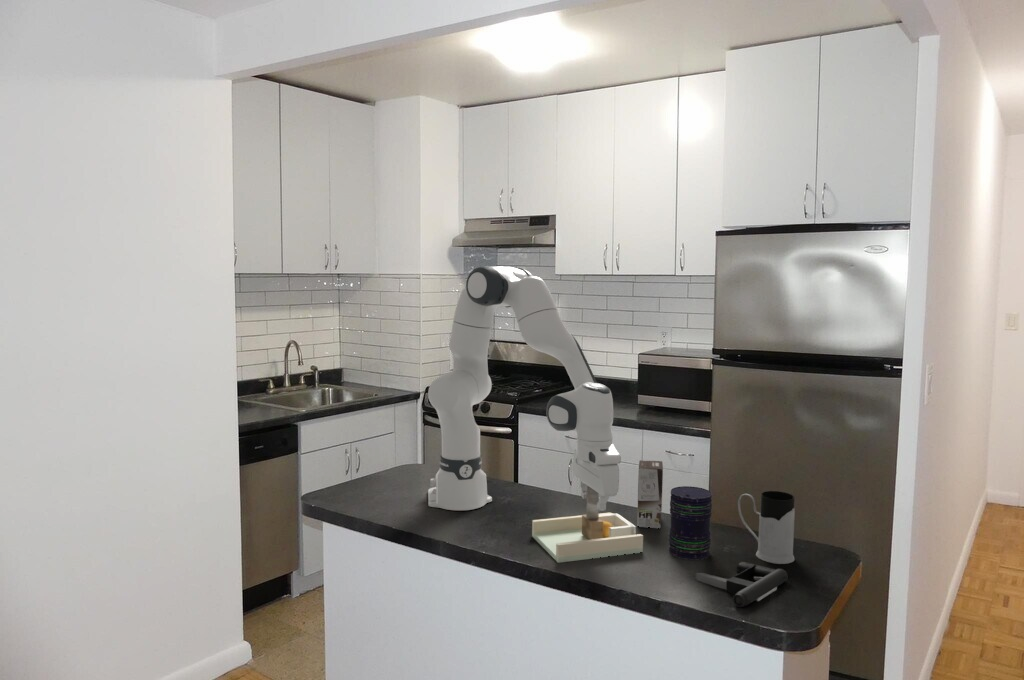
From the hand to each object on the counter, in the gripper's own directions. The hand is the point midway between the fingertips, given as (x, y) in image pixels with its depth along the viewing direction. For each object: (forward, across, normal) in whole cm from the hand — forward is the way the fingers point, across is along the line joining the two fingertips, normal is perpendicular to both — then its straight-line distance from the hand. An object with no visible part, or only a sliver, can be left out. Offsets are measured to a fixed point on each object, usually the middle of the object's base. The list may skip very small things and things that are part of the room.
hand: (593, 503), depth 186 cm
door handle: (+11, +32, +20) cm, 39 cm away
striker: (+9, 0, 0) cm, 9 cm away
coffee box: (+10, -10, +21) cm, 26 cm away
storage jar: (+10, +12, +20) cm, 26 cm away
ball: (+7, 0, +4) cm, 8 cm away
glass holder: (+10, +18, +37) cm, 43 cm away
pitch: (+10, 0, -2) cm, 10 cm away
